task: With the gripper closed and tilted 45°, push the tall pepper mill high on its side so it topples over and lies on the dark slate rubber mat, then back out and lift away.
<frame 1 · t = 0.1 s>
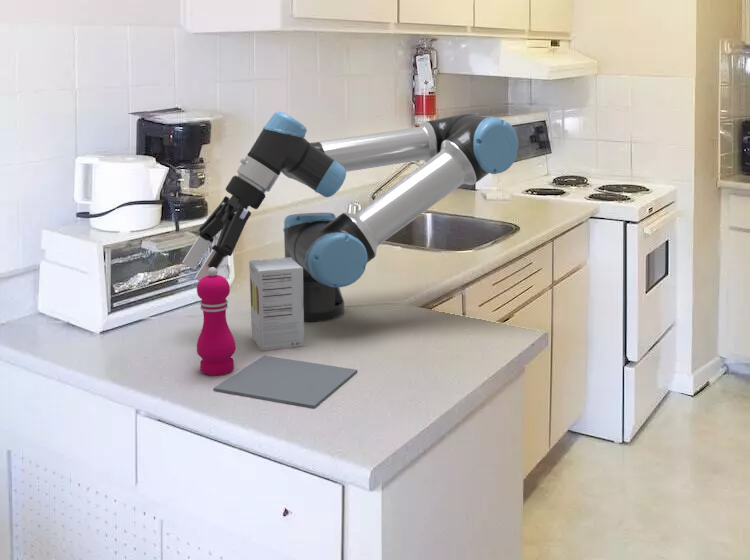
hand: (193, 273, 169), 15 cm above the worktop, tool tilted 35°, fingers open, 13 cm apart
pepper mill: (217, 370, 160), on the worktop
supplement box: (277, 342, 176), on the worktop
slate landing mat: (287, 381, 155), on the worktop
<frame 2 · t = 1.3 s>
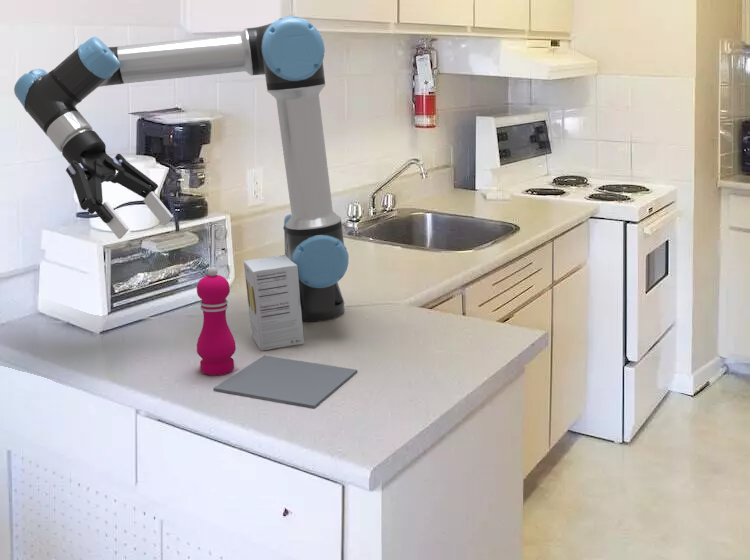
hand: (147, 227, 159), 26 cm above the worktop, tool tilted 45°, fingers open, 13 cm apart
supplement box: (277, 341, 175), on the worktop, touching arm
everything else where it was.
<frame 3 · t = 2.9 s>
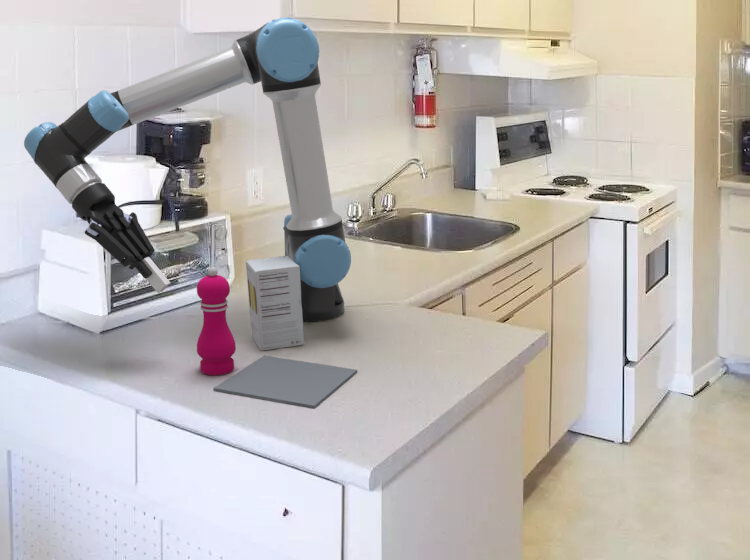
hand: (164, 288, 160), 15 cm above the worktop, tool tilted 45°, fingers closed
nothing on the worktop moved.
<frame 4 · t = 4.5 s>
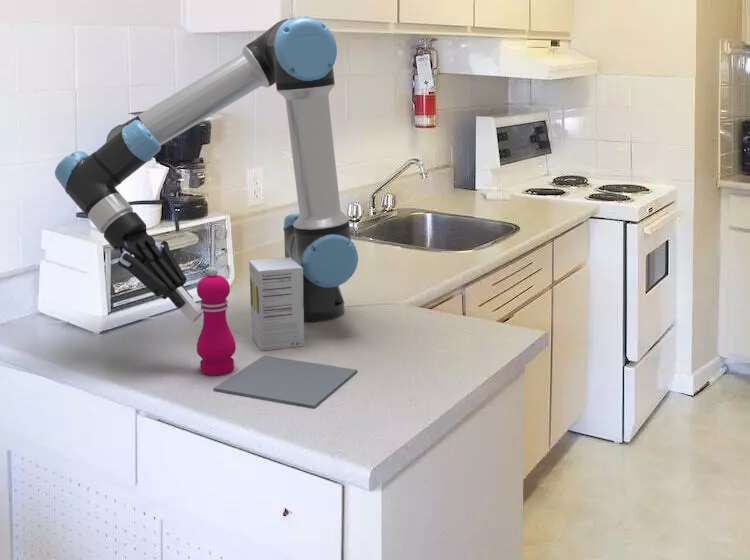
hand: (197, 317, 158), 10 cm above the worktop, tool tilted 45°, fingers closed
pepper mill: (217, 370, 160), on the worktop, touching gripper
supplement box: (277, 342, 176), on the worktop
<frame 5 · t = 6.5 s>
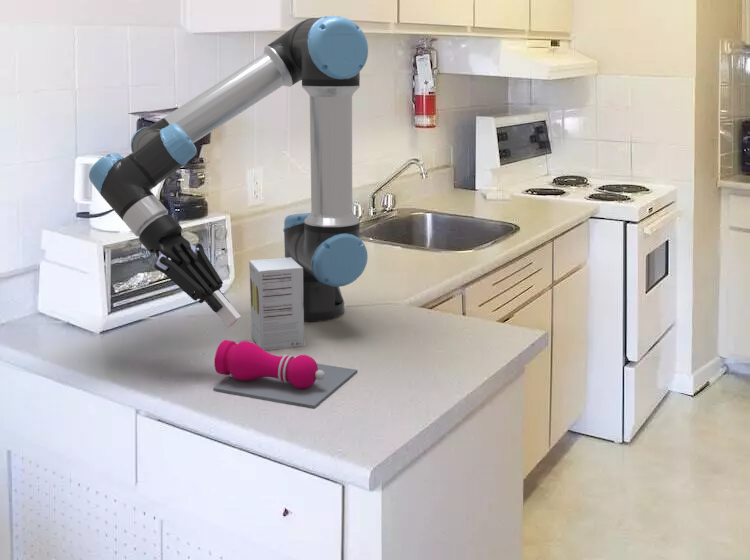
hand: (234, 321, 156), 10 cm above the worktop, tool tilted 45°, fingers closed
pepper mill: (221, 356, 154), point 4 cm above the worktop, touching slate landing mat
everything else where it was.
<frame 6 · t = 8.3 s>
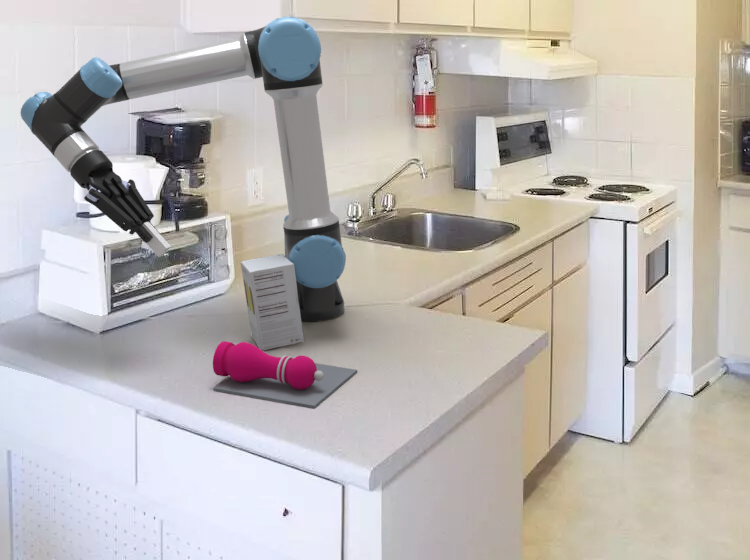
hand: (164, 251, 161), 21 cm above the worktop, tool tilted 45°, fingers closed
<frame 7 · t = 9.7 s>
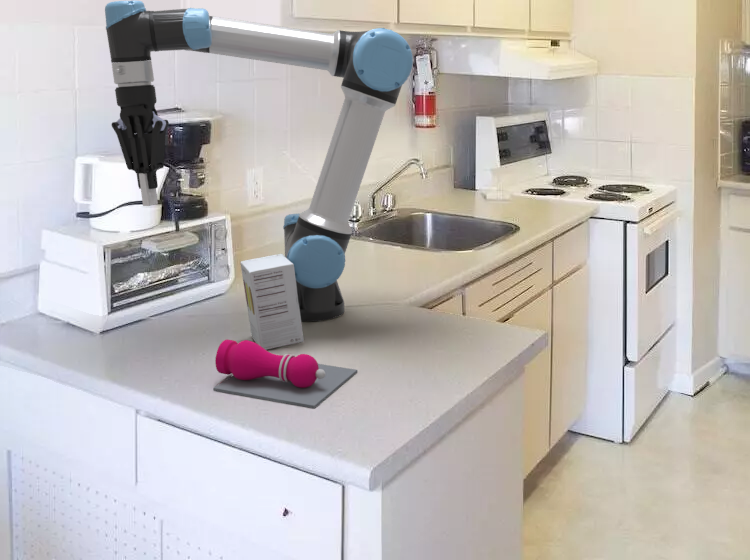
hand: (150, 204, 170), 28 cm above the worktop, tool pointing down, fingers closed
pepper mill: (222, 356, 155), point 4 cm above the worktop, touching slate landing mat
supplement box: (277, 340, 175), on the worktop, touching arm
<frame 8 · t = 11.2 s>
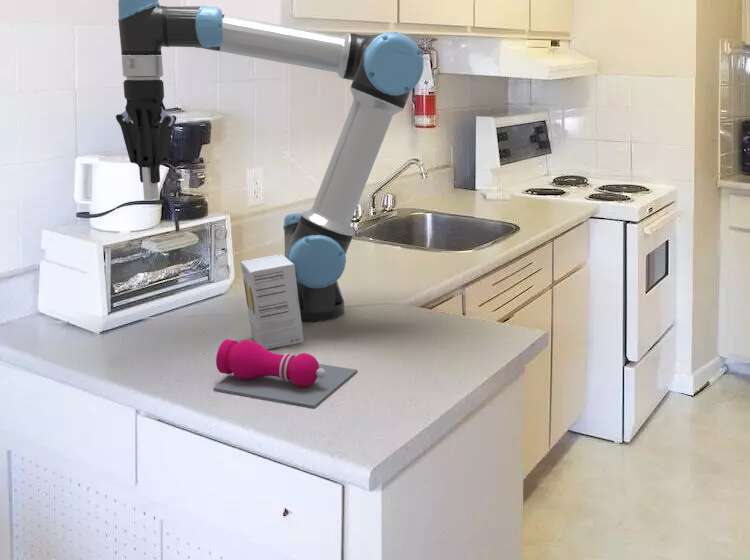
hand: (151, 198, 170), 29 cm above the worktop, tool pointing down, fingers closed
nothing on the worktop moved.
at the end: pepper mill tilted 93°; pepper mill touching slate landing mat; the gripper is holding nothing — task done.
